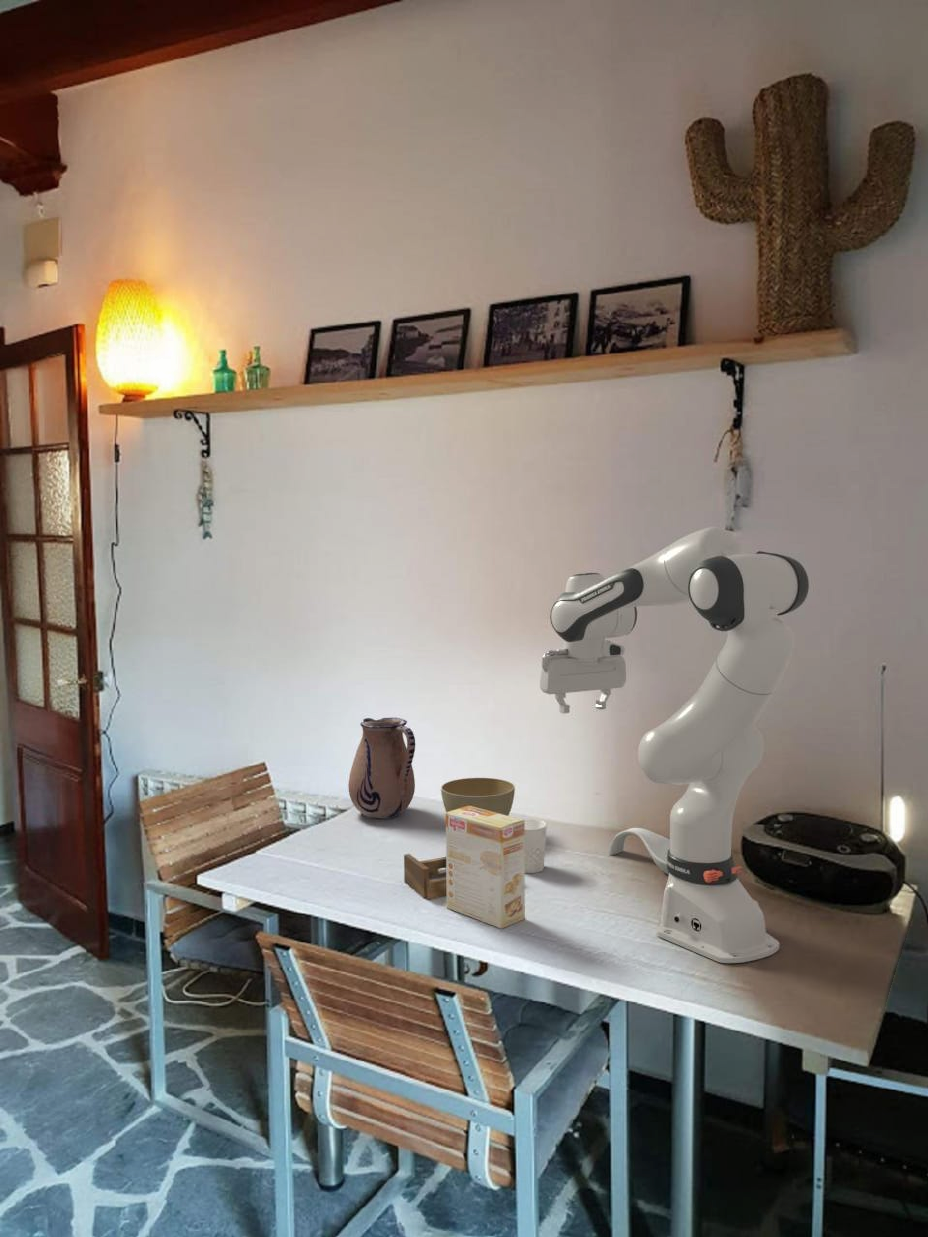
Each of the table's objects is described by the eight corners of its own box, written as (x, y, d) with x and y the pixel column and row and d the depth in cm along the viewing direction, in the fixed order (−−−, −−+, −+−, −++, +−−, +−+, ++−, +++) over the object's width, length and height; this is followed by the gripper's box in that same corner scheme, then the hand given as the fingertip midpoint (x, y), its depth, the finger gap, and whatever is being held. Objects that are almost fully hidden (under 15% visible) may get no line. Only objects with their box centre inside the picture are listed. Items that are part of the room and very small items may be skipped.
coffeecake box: (526, 919, 181) (526, 819, 179) (501, 930, 176) (500, 828, 174) (470, 898, 192) (469, 804, 190) (445, 908, 187) (444, 811, 185)
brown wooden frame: (487, 864, 211) (487, 838, 210) (515, 882, 200) (515, 855, 199) (402, 880, 202) (401, 853, 201) (426, 900, 191) (425, 871, 190)
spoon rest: (718, 873, 205) (719, 840, 205) (688, 887, 197) (689, 854, 197) (628, 848, 222) (629, 818, 222) (598, 860, 214) (598, 829, 213)
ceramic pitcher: (378, 801, 262) (377, 712, 260) (439, 813, 250) (438, 720, 248) (335, 817, 248) (333, 722, 246) (397, 831, 236) (396, 732, 234)
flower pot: (520, 826, 239) (520, 778, 238) (507, 849, 221) (507, 798, 220) (451, 821, 243) (451, 775, 242) (433, 844, 225) (432, 794, 224)
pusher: (452, 872, 205) (452, 850, 205) (471, 886, 197) (471, 862, 197) (430, 876, 203) (430, 854, 202) (448, 890, 195) (448, 867, 194)
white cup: (522, 860, 214) (522, 816, 213) (553, 866, 210) (553, 822, 209) (504, 870, 208) (503, 825, 207) (534, 877, 203) (534, 831, 202)
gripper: (550, 652, 196) (549, 718, 198) (630, 646, 206) (629, 709, 207) (534, 648, 202) (534, 712, 204) (613, 643, 211) (612, 704, 213)
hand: (582, 711), depth 205 cm, fingers open, 8 cm apart
